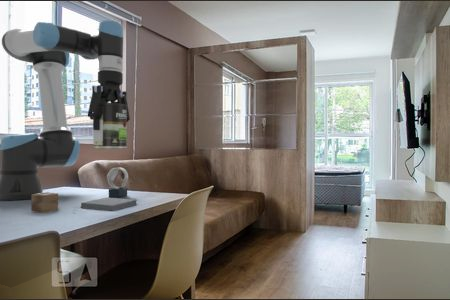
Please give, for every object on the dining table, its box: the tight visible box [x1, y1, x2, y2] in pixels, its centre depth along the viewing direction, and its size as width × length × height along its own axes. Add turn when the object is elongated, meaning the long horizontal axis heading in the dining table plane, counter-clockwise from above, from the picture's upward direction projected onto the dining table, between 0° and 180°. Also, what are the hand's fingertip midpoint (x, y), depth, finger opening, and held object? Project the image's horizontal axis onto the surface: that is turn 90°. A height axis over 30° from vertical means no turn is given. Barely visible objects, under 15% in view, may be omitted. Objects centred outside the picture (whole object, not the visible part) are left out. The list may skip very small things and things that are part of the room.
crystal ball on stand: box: [106, 167, 130, 199], centre depth 132 cm, size 6×8×11 cm
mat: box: [80, 197, 137, 211], centre depth 113 cm, size 12×12×2 cm
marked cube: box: [30, 191, 59, 214], centre depth 104 cm, size 5×5×5 cm
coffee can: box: [93, 102, 128, 150], centre depth 112 cm, size 10×10×14 cm
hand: (110, 141), depth 112 cm, fingers closed on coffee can, 10 cm apart
